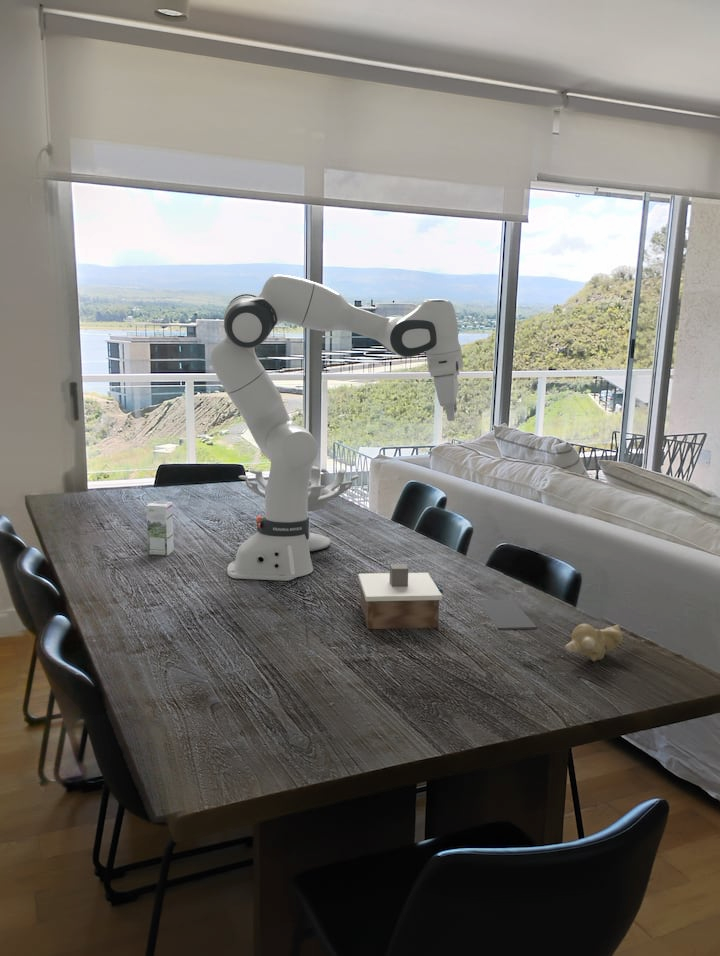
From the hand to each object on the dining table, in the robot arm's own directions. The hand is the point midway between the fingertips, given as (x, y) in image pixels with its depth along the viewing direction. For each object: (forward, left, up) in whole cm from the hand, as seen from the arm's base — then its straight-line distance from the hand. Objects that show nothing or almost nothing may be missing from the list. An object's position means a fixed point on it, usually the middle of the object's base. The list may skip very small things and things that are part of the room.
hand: (452, 415), depth 200 cm
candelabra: (-39, +27, -42) cm, 63 cm away
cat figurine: (+16, -58, -42) cm, 74 cm away
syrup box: (-78, +20, -42) cm, 90 cm away
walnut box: (-19, -35, -41) cm, 58 cm away
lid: (-19, -35, -36) cm, 54 cm away
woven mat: (-11, -16, -42) cm, 46 cm away
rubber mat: (+1, -34, -41) cm, 54 cm away
